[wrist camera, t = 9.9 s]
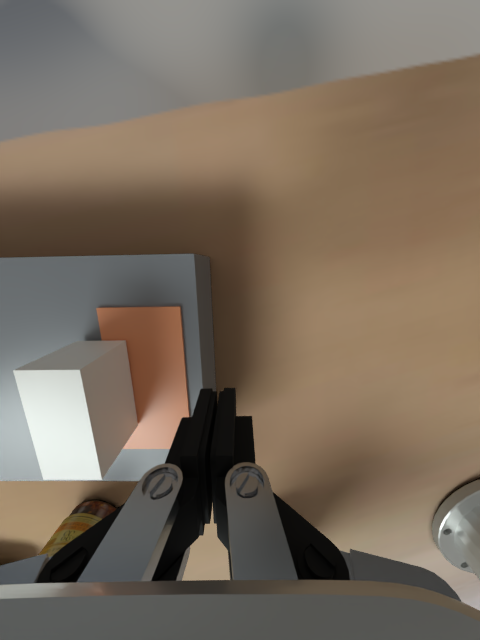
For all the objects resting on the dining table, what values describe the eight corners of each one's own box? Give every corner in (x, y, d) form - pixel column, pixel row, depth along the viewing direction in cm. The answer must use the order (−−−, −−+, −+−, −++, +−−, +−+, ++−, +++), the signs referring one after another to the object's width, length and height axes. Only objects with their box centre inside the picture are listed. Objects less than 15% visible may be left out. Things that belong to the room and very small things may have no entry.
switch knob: (125, 340, 14) (79, 369, 10) (138, 425, 15) (101, 480, 11) (77, 341, 14) (12, 370, 10) (93, 425, 15) (43, 479, 11)
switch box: (209, 257, 19) (193, 253, 13) (217, 425, 23) (208, 483, 16) (-74, 262, 19) (-218, 262, 13) (-19, 426, 23) (-112, 483, 17)
